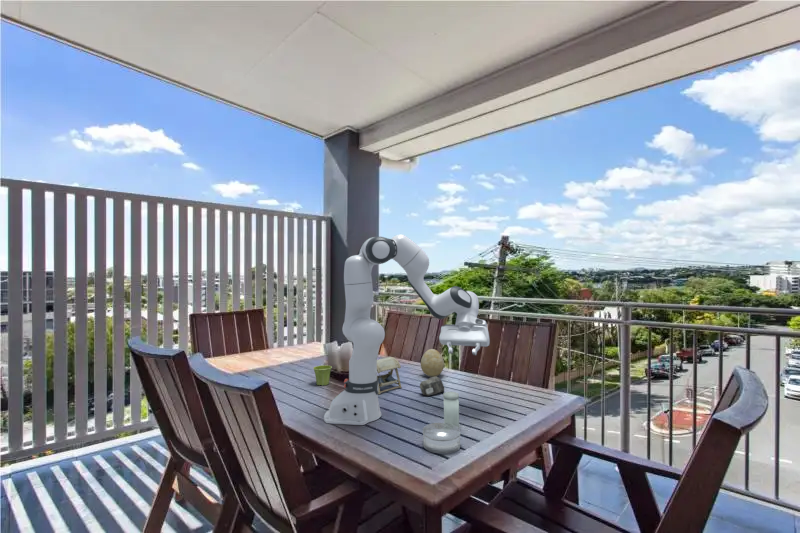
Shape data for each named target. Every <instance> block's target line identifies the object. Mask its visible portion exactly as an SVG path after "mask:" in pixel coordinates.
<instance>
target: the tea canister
mask: <svg viewBox="0 0 800 533" xmlns="http://www.w3.org/2000/svg"><path fill="white" fill-rule="evenodd" d="M442 393H443V394H442V395H443V396H442V397H443V398H442V399H443V423H449V424H452V425H455V426H457V427H458V428H460V402H459V401H460V394H459V393H458V392H456V391H446V392H445V391H444V392H442Z"/></svg>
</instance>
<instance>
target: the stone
mask: <svg viewBox="0 0 800 533" xmlns="http://www.w3.org/2000/svg"><path fill="white" fill-rule="evenodd" d="M442 381H443V380H442V379H441V378H440V377H438V376H435V377H429V378H427V379H425V380H422V381H420V383H419V389H420V392H421V395H423V396H433V395H437V394H440V393H445V385H444V384H443V382H442Z"/></svg>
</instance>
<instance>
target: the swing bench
mask: <svg viewBox="0 0 800 533" xmlns="http://www.w3.org/2000/svg"><path fill="white" fill-rule="evenodd" d="M399 369H401V364H400V362H399V360H398V359H396V358H395V357H393V356H388V357H384V358H380V359H377V374H378V375H377V379H378V396H379V395H381V393H385V392H389V391H391V390H392V391H393V390H394V389H398V388H399V389H402V384H401V379H400V375H399ZM394 370H395V371H394ZM387 371H388V372H387ZM383 372H387V373H385V374H380V373H383ZM393 372H395V375H396V378H397V379H396V378H394V377H393ZM393 384H394V385H396V386H394V387H391V388H387V389H383V390H381V388H383V387H387V386H391V385H393ZM397 385H398V386H397Z"/></svg>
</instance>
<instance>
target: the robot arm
mask: <svg viewBox="0 0 800 533" xmlns="http://www.w3.org/2000/svg"><path fill="white" fill-rule="evenodd" d="M390 260H393V261H394V262H396V263H397V264H398V265H399V266H400V267H401V268H402V269H403V270H404V271H405V273H406V277H407V278H406V279H407V282H408V284H409V285H410V286H411V288H412V290H414V292H415V293H416V294H417V296H418V297H419V298H420V299H421V301H422V302H423V303H424V304H425V306H426V307H427V310H428V311H429V313H430V314H431V315H432V316H433V317H434V318H436V319H438V320H444V319H445V318H447V317H449V316H450V315H452V314H453V313H456V318H455V324H447V323H446V324H444V325H441V327H440V333H439V337H438V340H439V343H440V344H441V345H444V346H447V348H448V352H447V353H448V354H450V355H451V354H453V353H454V348H453V347H452V346H461V347H462V346H464V347H465V346H466V347H475V348H472V350H471V354H472V355H473V356H477V354H478V351H480V349H481V347H486V348H487V347H488V346H490V342H491V341H490V332H489V329H488V323H487V321H486V320H485V319H480V318H478V314H479V308H480V302H479V298H478V296H477V294H476V293H475V292H473V291H472V290H471V291H470V290H465V289H463V288H461V287H460V286H455V285H454V286H452V287H450V288H448V289H446V290H445V291H443V292H442V293H440V294H438V295H437V294H435V293H433V292H432V290H431V288H430V287H429V286H428V284H427V283H426V282H425V279H424V277H425V276H426V274H427V271H428V270H429V266H430V258H429V256H428V254H427V253H426V252H425V251H424V250H423V249H422V248H421V247H420V246H419V245H418V244H417V243H415V242H414V241H413V240H412V239H410V238H409V237H408V236H406V235H405V234H401V233H400V234H396V235H394V236H392V237H391V238H387V237H384V236H373V237H369V238H367V239H366V240H364V242H362V244H361V245H360V247H359V250H358V252H357V254H354V255H351V256H350V257H347V258H346V260H345V261H344V269H343V286H344V296H345V298H344V299H345V311H344V313H345V314H344V322H343V325H342V335H344V337H345V338H346V339H347V341H349V342H351V343H353V346H352V353H351V356H350V358H349V361H348V378H345V379H344V381H343V390H342V391H341V392H340V393H339V394H337V395H336V396H335V397H333V399H332V400H331V403H330V406H329V409H328V410H326V412H325V413H324V415H323V421H324V423H326V424H335V425H354V426H363V425H366V424H368V423H371V422H374V421H376V420H378V419H380V418H381V417H382V411H381V408H380V402H379V394H378V379H377V376H378V372H377V360H378V356H379V351H380V347H381V345H382V344H383V342H384V340H385V336H386V332H385V328H384V327H383V326H382V325H381V324H380V323H379V322H378V321H377V320H375V319H372V318H371V310H372V305H373V304H374V299H375V298H374V289H373V288H374V287H373V278H372V272H373V267H374V266H375V265H381V264H382V265H383V264H385V263H387V262H389V261H390Z"/></svg>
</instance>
